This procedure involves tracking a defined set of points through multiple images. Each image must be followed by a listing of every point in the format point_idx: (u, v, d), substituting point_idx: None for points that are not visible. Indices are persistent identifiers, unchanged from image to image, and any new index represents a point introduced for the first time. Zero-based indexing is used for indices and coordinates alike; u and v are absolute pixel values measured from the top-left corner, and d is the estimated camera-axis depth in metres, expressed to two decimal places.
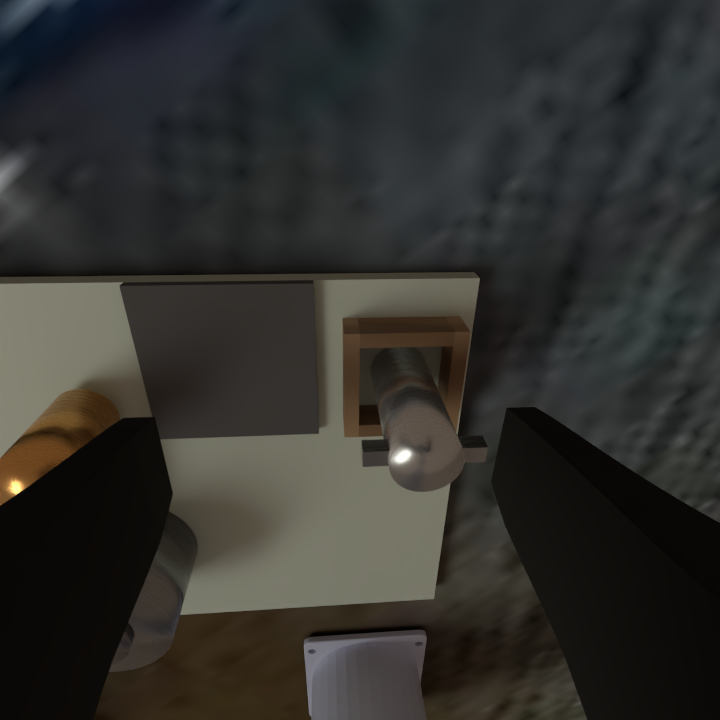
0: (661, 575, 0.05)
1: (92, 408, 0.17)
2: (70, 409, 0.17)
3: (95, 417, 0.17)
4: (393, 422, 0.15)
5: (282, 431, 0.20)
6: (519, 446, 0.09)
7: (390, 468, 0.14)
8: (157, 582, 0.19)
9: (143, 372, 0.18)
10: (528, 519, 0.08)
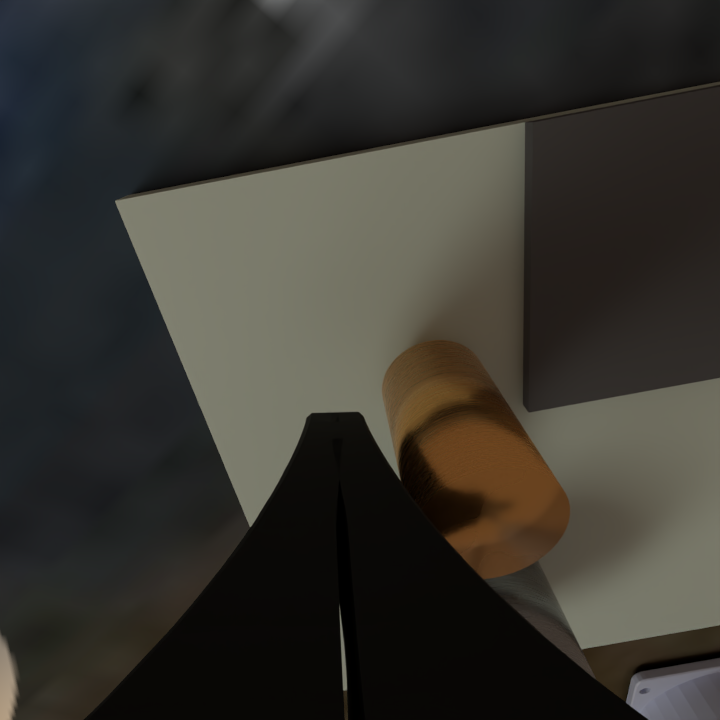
0: (351, 593, 0.05)
1: (477, 365, 0.10)
2: (457, 368, 0.10)
3: (490, 378, 0.10)
4: None
5: None
6: None
7: None
8: (571, 642, 0.12)
9: (534, 295, 0.10)
10: None
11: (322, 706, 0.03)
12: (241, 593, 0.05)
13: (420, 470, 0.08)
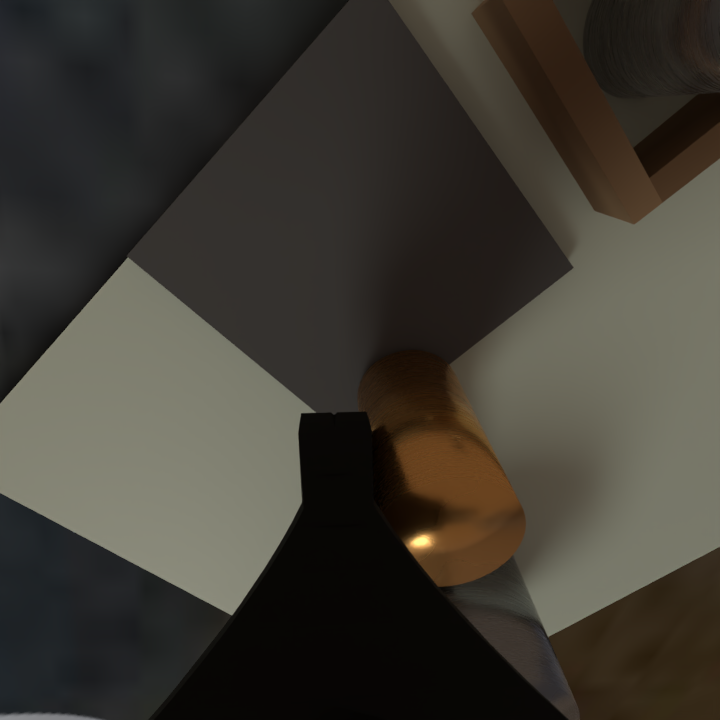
0: None
1: (447, 375, 0.10)
2: (426, 379, 0.10)
3: (459, 389, 0.10)
4: None
5: (511, 307, 0.11)
6: None
7: None
8: (494, 634, 0.12)
9: (258, 360, 0.11)
10: None
11: (388, 701, 0.03)
12: (291, 590, 0.05)
13: (381, 480, 0.08)
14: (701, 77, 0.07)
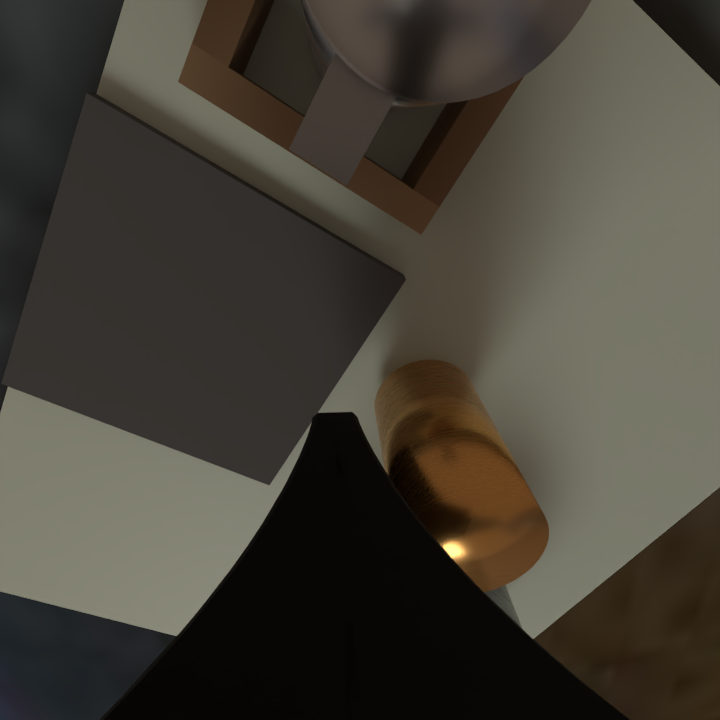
0: None
1: (470, 388, 0.10)
2: (451, 390, 0.10)
3: (481, 402, 0.10)
4: (303, 7, 0.04)
5: (362, 332, 0.11)
6: None
7: (385, 81, 0.04)
8: None
9: (152, 438, 0.12)
10: None
11: (337, 705, 0.03)
12: (253, 593, 0.05)
13: (411, 485, 0.08)
14: None
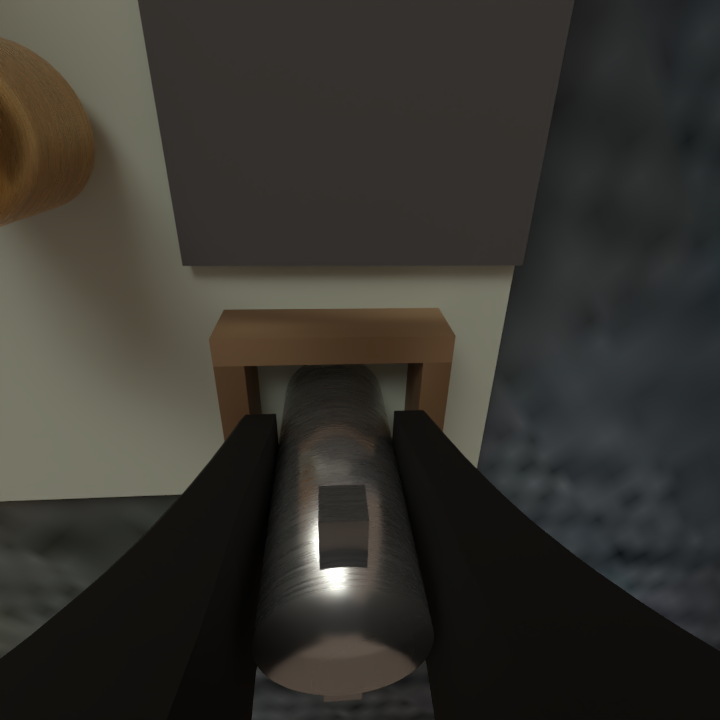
0: (466, 586, 0.05)
1: None
2: (13, 220, 0.07)
3: None
4: (393, 525, 0.07)
5: (178, 180, 0.08)
6: (399, 450, 0.09)
7: (333, 592, 0.05)
8: None
9: None
10: None
11: (144, 719, 0.03)
12: (110, 600, 0.05)
13: None
14: (317, 429, 0.08)
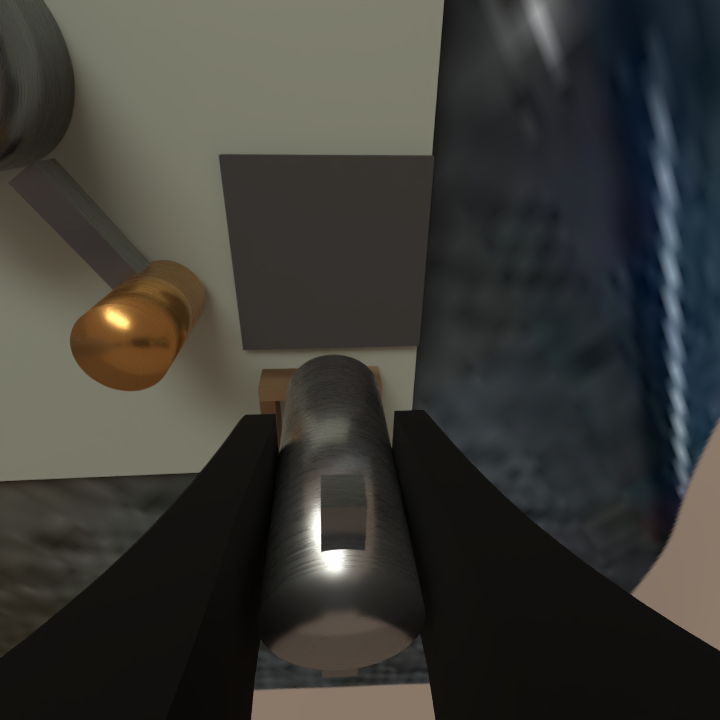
0: (467, 586, 0.05)
1: None
2: None
3: None
4: (389, 513, 0.07)
5: (243, 312, 0.17)
6: (399, 450, 0.09)
7: (333, 571, 0.06)
8: None
9: (324, 158, 0.15)
10: None
11: (143, 719, 0.03)
12: (109, 600, 0.05)
13: (177, 345, 0.13)
14: (318, 423, 0.09)
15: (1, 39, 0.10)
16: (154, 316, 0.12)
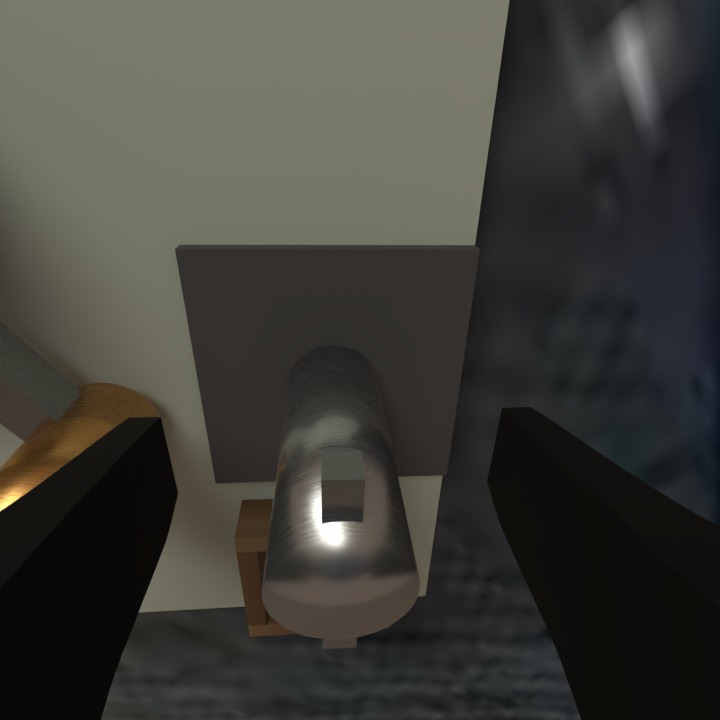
0: (653, 576, 0.05)
1: None
2: None
3: None
4: (385, 490, 0.07)
5: (215, 440, 0.13)
6: (514, 446, 0.09)
7: (333, 541, 0.06)
8: None
9: (326, 253, 0.10)
10: (523, 519, 0.08)
11: None
12: None
13: None
14: (319, 408, 0.09)
15: None
16: None
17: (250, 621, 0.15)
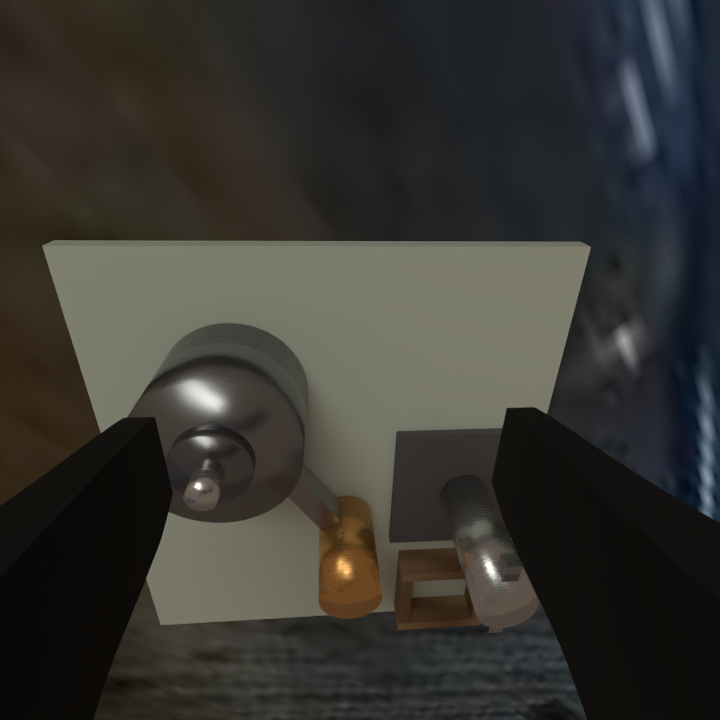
0: (661, 575, 0.05)
1: None
2: None
3: None
4: None
5: (395, 521, 0.23)
6: (519, 446, 0.09)
7: (509, 589, 0.17)
8: None
9: (470, 436, 0.21)
10: (528, 519, 0.08)
11: None
12: None
13: (379, 585, 0.19)
14: (477, 520, 0.19)
15: (304, 431, 0.16)
16: (374, 577, 0.18)
17: (400, 621, 0.25)
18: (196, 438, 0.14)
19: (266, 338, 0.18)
